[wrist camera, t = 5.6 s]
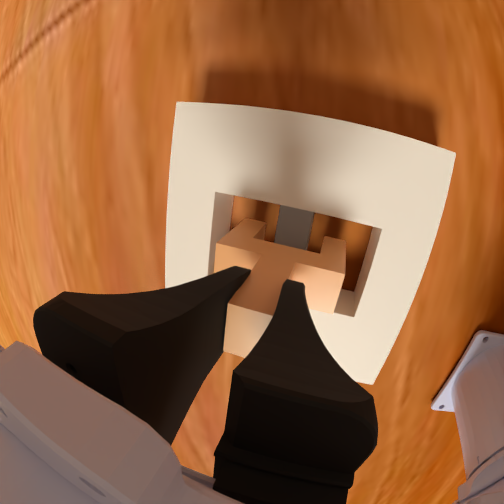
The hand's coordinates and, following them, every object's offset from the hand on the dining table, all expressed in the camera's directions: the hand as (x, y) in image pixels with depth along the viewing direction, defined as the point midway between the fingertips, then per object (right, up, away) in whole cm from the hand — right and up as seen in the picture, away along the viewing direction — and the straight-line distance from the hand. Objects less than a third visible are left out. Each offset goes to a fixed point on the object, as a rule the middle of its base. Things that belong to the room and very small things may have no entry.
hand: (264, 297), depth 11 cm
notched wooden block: (+2, +2, +5) cm, 6 cm away
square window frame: (+2, +2, +7) cm, 7 cm away
